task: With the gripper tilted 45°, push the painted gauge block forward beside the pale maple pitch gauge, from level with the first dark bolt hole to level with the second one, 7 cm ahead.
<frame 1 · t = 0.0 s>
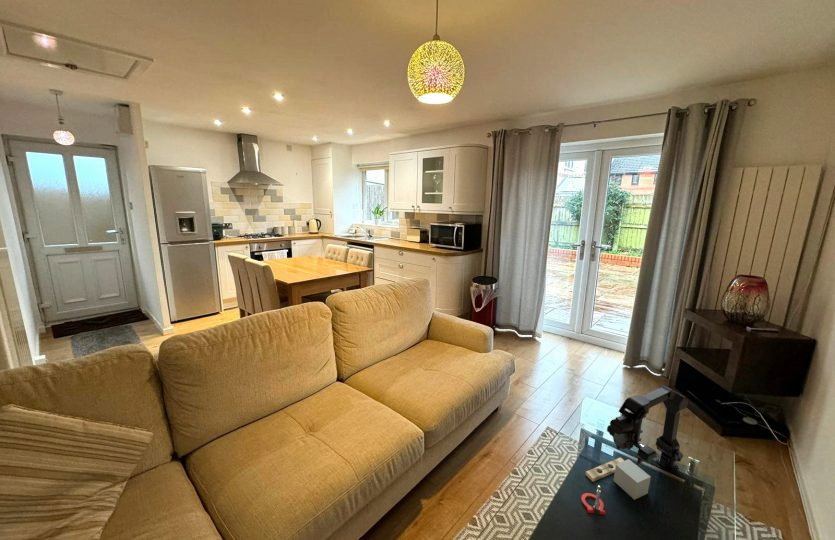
hand: (628, 456, 142), 15 cm above the table, tool pointing down, fingers open, 9 cm apart
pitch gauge: (607, 470, 152), on the table
red shackle: (592, 504, 137), on the table
gauge block: (630, 487, 144), on the table
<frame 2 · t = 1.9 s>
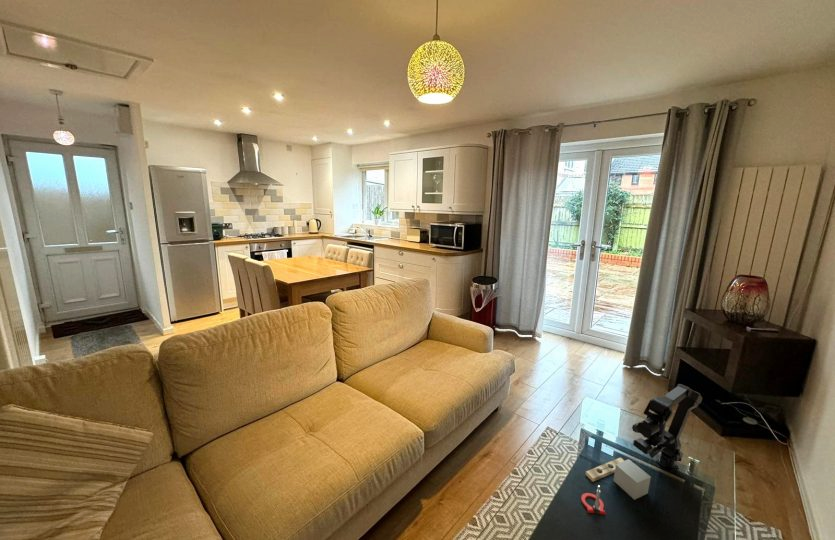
hand: (651, 456, 145), 12 cm above the table, tool pointing down, fingers closed
nothing on the table moved.
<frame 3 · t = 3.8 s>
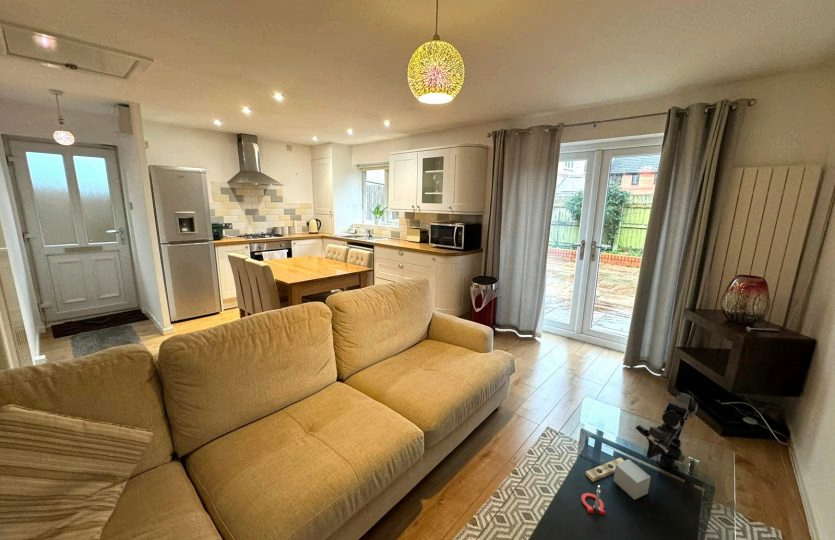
hand: (647, 457, 144), 12 cm above the table, tool tilted 45°, fingers closed
nothing on the table moved.
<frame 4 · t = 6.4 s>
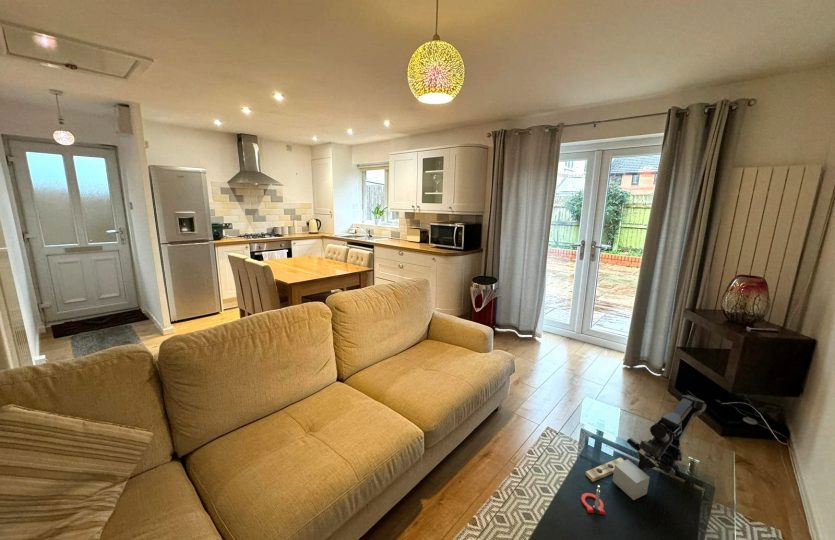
hand: (638, 471, 143), 7 cm above the table, tool tilted 45°, fingers closed, pressing on gauge block
gauge block: (629, 487, 144), on the table, touching gripper
everything else where it was.
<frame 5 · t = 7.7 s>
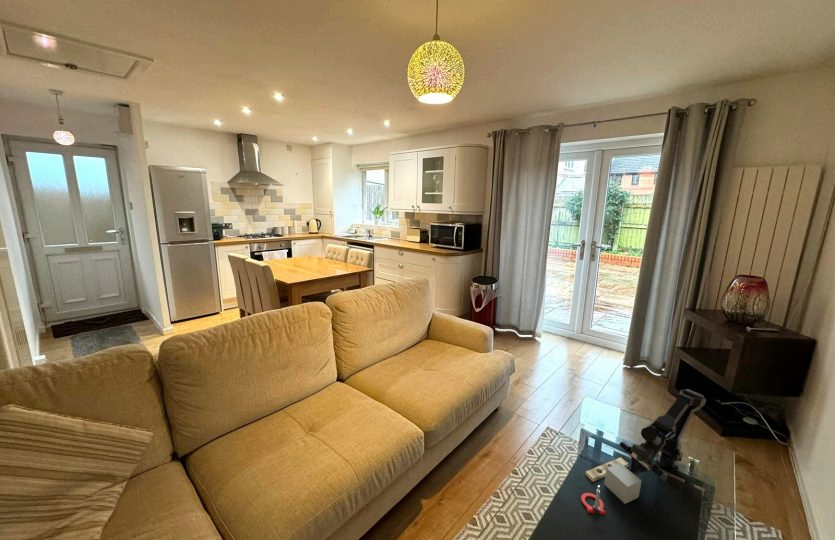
hand: (630, 475, 142), 7 cm above the table, tool tilted 45°, fingers closed, pressing on gauge block
gauge block: (621, 490, 142), on the table, touching gripper
everything else where it was.
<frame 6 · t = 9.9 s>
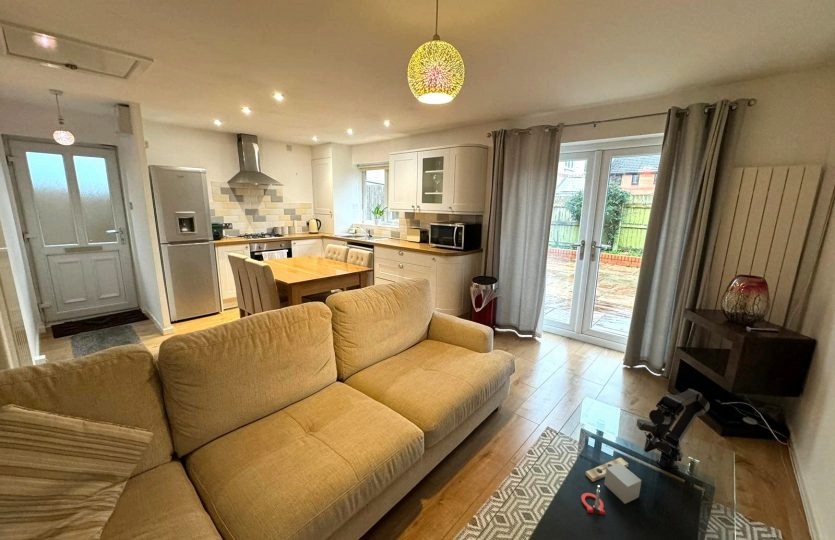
hand: (645, 451, 147), 12 cm above the table, tool tilted 25°, fingers closed
gauge block: (621, 490, 142), on the table
everything else where it was.
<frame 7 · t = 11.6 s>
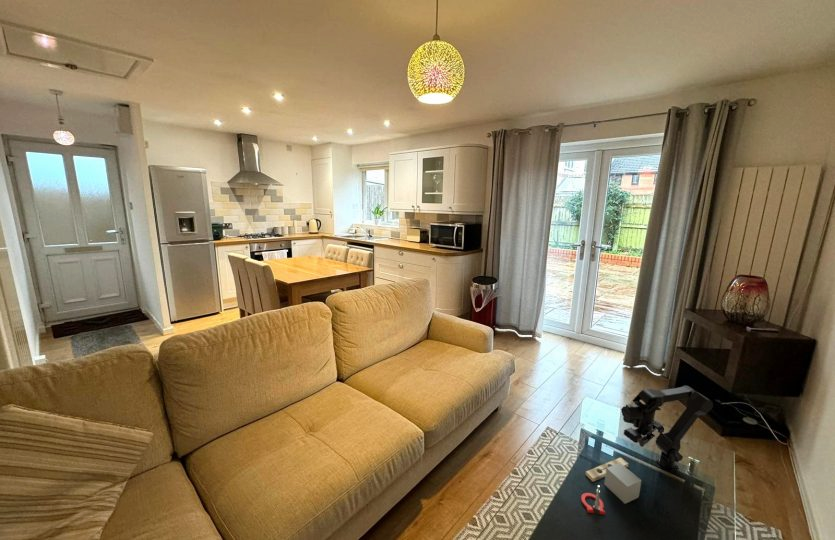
hand: (641, 446, 151), 12 cm above the table, tool pointing down, fingers closed
nothing on the table moved.
at the end: gauge block inside the target area (1.9 cm from its centre), on the table; gauge block moved 5.4 cm from its start; gauge block tilted 0° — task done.
